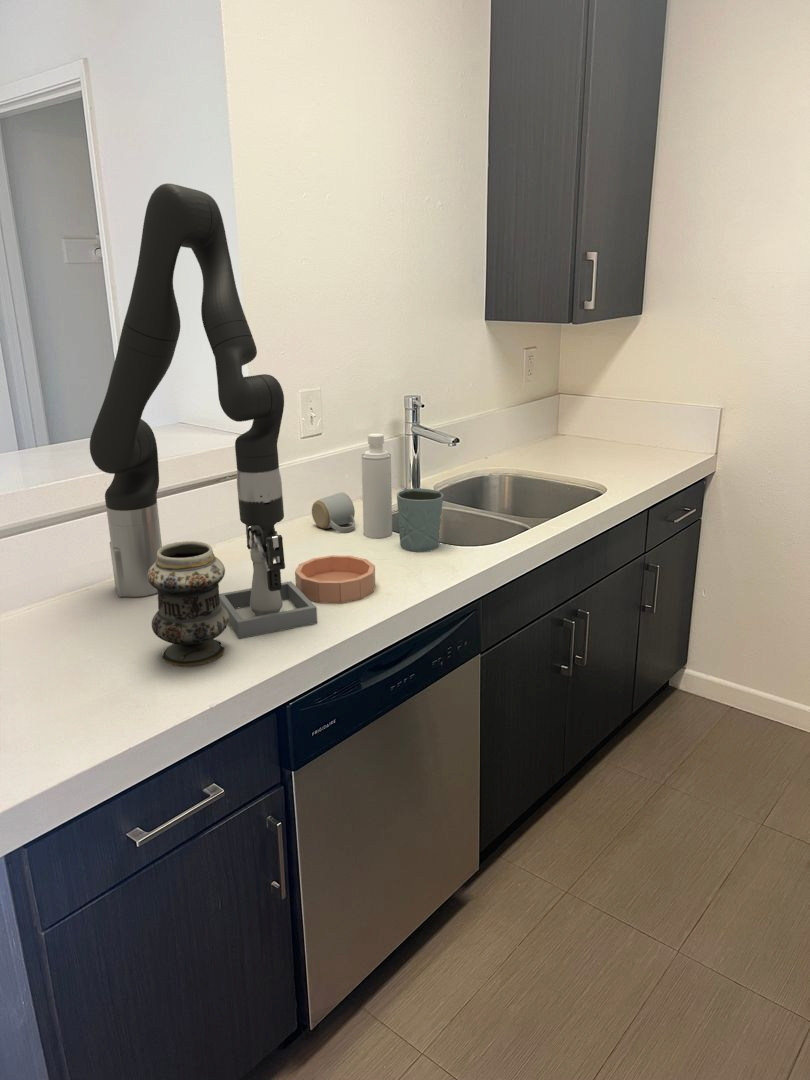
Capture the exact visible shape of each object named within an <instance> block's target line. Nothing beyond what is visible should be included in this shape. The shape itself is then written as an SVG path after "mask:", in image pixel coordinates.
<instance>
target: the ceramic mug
mask: <svg viewBox="0 0 810 1080" xmlns="http://www.w3.org/2000/svg"><path fill="white" fill-rule="evenodd" d="M355 512H356V510H355V506H354V503H353V501H352V499H351V498H350V496H349V494H347V493H345V492H341V491H340V492H337V493H334V494H332V495H329V496H325V497H322V498H319V499H318V500H316V501H315V502H313V504H312V507H311V515H312V516H311V517H312V519H313V521H314V523H315V524H316V526H318V527H319V528H320V529H333V530H334V531H336V532H339V533H344V534H346V533H350V532H352V531H353V530H354V529H355V525H356V521H355V515H356V514H355ZM348 524H349V525H350V524H351V526H347V527H346V526H345V525H348ZM343 525H344V526H345V527H344V526H343Z"/></svg>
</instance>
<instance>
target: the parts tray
mask: <svg viewBox="0 0 810 1080" xmlns="http://www.w3.org/2000/svg"><path fill="white" fill-rule="evenodd" d="M281 586H282V588H281V589H280V590H279V591H280V595H281V599H282V601H283V600H289V601H290V602H291V603H292V604H293V605H294V607H296V608H294V609H289V610H283V611H280V612H277V613H272V614H266V615H261V616H251V617H246V618H242V617H241V616H240V614H239V613H238V611H237V610H236V609H239V608H238V607H241V608H246V607H250V597H251V588H252V587H250V588H244V589H241V590H239V589H238V590H234V591H229V592H223V593H219V599H220V605H221V606H222V607H224V608H225V609H226V611H227V612H228V615H229V622H228V625H229V624H230V625H229V626H230V628H231V627H232V628H231V629H232V630H234V631H233V632H234V633H235V635H236V636H237V638H238V639H239V638H240V639H244V638H249V637H255V636H260V635H264V634H269V633H273V632H279V631H283V630H290V629H293V628H294V629H295V628H299V627H300V628H301V627H304V626H310V625H315V624H318V611H317V610H318V609H317V606H316V605H315V604H314V603H313V601H311V600H309V599H308V598H307V597H306V596H305V595H304V594H303V593H302V592H301V591H300V590H299V589H298V588H297V587H296V584H294V583H293V581H291V580H290V581H286V582H281ZM234 608H235V609H234Z"/></svg>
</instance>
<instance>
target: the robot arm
mask: <svg viewBox="0 0 810 1080" xmlns="http://www.w3.org/2000/svg"><path fill="white" fill-rule="evenodd" d="M139 247H140V248H139V255H138V261H137V267H136V270H135V271H136V272H135V277H134V281H133V286H132V290H131V294H130V299H129V301H128V302H129V303H128V307H127V311H126V313H125V318H124V321H123V325H122V327H121V328H122V330H121V332H120V337H119V341H118V347H117V351H116V356H115V359H114V363H113V366H112V370H111V374H110V378H109V382H108V386H107V390H106V393H105V396H104V399H103V402H102V405H101V408H100V411H99V413H98V415H97V418H96V421H95V423H94V426H93V428H92V431H91V435H90V439H89V453H90V457H91V460H92V462H93V464H95V466H96V467H97V468H98V469H99V470H100V471H101V472H104V473H106V474H110V475H111V474H113V475H114V476H113V478H112V480H111V482H110V485H109V486H108V487H107V489H106V490H105V492H104V501H105V509H106V517H107V523H108V531H109V532H108V533H109V538H110V542H109V549H110V557H111V564H112V565H111V566H112V570H113V571H112V573H113V578H114V579H113V581H114V585H115V590H116V593H117V595H118V597H119V598H124V597H130V598H132V597H133V598H135V597H136V598H138V597H139V598H140V597H146V596H147V597H148V596H151V595H154V594H158V593H157V589H156V588H154V587H153V586H152V585H151V584H150V583H149V580H148V571H149V569H150V567H151V566H152V565H153V564H154V563H155V562H156V560H157V551H158V550H159V549H160V548H161V547H162V546H163V544H162V535H161V526H160V516H159V508H158V507H159V506H158V505H159V504H158V499H157V497H158V496H157V494H158V490H159V486H160V485H159V484H160V471H159V468H160V467H159V453H158V446H157V439H156V436H155V433H154V432H153V429H152V428H151V426H150V425H149V424H148V423H147V422H146V421H145V420H143V419H142V416H143V412H144V410H145V408H146V406H147V403H148V402H149V400H150V399H151V397H152V396H153V394H154V392H155V391H156V389H157V388H158V386H159V385H160V383H161V381H162V380H163V378H164V377H165V376H166V374H167V371H168V370H169V368H170V366H171V364H172V362H173V361H172V360H173V358H174V356H175V351H176V348H177V344H178V341H179V337H180V332H181V317H180V312H179V307H178V303H177V299H176V296H175V295H176V294H175V290H174V273H175V268H176V263H177V259H178V256H179V252H180V251H181V248H188V249H191V250H192V253H193V255H194V256H195V259H196V261H197V262H198V265H199V268H200V270H201V271H200V272H201V275H202V297H201V306H200V307H201V308H200V309H201V310H200V311H201V320H202V326H203V329H204V332H205V335H206V338H207V340H208V342H209V345H210V348H211V352H212V354H213V356H214V362H215V371H216V380H217V394H218V400H219V405H220V407H221V409H222V411H223V413H224V414H225V416H227V417H228V418H229V419H231V421H233V422H234V421H235V422H246V421H252V425H251V427H250V428H249V429H248V430H246V432H244V433H241V434H240V435H239V436H237V438H236V439H235V443H234V450H235V461H236V462H235V463H236V472H237V473H236V489H237V498H238V499H237V501H238V510H239V520H240V522H241V523H242V524H244V525H245V535H246V547H247V549H248V550H249V553H250V554H251V550H252V549H253V548H254V547H258V550H259V554H260V558H261V559H262V560H264V562H265V565H266V570H267V581H268V589H269V590H270V591H277V590H280V589H281V588H282V586H281V583H282V577H281V576H282V575H281V573H282V572H281V570H285V569H286V564H285V562H286V561H285V554H284V552H285V551H284V541H283V538H284V537H283V536H282V534H278V531H276V529H275V525H276V524H278V523H280V522H282V520H283V519H284V517H285V511H284V510H285V509H284V497H283V484H282V483H283V482H282V477H281V472H280V465H279V453H278V440H279V437H280V431H281V424H282V420H283V414H284V409H285V395H284V390H283V387H282V385H281V383H280V382H279V380H278V379H277V378H275V376H273V375H272V374H267V373H266V374H264V373H263V374H257V375H255V374H254V375H250V376H249V375H248V376H244V375H243V366H245V365H247V364H249V363H250V362H253V360H255V358H256V356H257V353H258V350H257V346H256V342H255V339H254V337H253V334H252V331H251V328H250V326H249V323H248V320H247V317H246V315H245V312H244V309H243V306H242V302H241V299H240V296H239V293H238V289H237V285H236V280H235V275H234V271H233V265H232V260H231V256H230V255H231V254H230V249H229V245H228V239H227V234H226V229H225V225H224V220H223V216H222V213H221V209H220V208H219V205H218V203H217V201H216V200H215V199H214V197H212V196H211V195H210V194H208V193H206V192H205V191H202V190H197V189H194V188H190V187H186V186H183V185H179V184H175V183H163V184H160V185H158V187H156V188H155V190H153V191H152V193H151V196H150V197H149V200H148V201H147V206H146V209H145V213H144V219H143V225H142V234H141V240H140V246H139ZM265 552H268V553H265ZM273 558H275V560H274V561H275V563H274V561H273ZM252 569H253V571H254V562H252Z"/></svg>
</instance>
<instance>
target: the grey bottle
mask: <svg viewBox="0 0 810 1080" xmlns="http://www.w3.org/2000/svg"><path fill="white" fill-rule="evenodd" d="M384 436H385V434H384V433H379V432H378V433H375V432H374V433H373V432H372V433H369V434H368V435H367V444H368V446H369V449H368V450H365V451H364V452H363V454H361V485H362V487H361V489H362V491H361V492H362V521H363V522H362V524H363V526H362V527H363V530H362V531H363V536H364V537H366V538H370V539H386V538H388V537H390V536H392V535H393V504H392V503H393V500H392V498H393V497H392V496H393V494H392V493H393V492H392V491H393V490H392V489H393V488H392V487H393V486H392V454H391V453H390V452H389V451H388V450H386V449H384V443H385V437H384Z"/></svg>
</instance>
